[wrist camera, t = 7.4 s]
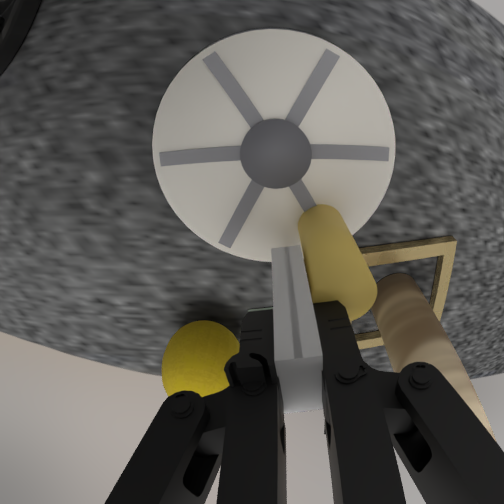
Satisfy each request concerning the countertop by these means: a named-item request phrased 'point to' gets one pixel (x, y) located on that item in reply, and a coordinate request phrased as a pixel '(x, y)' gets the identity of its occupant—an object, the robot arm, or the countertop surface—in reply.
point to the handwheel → (279, 155)
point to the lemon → (198, 358)
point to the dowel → (419, 336)
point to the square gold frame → (412, 251)
